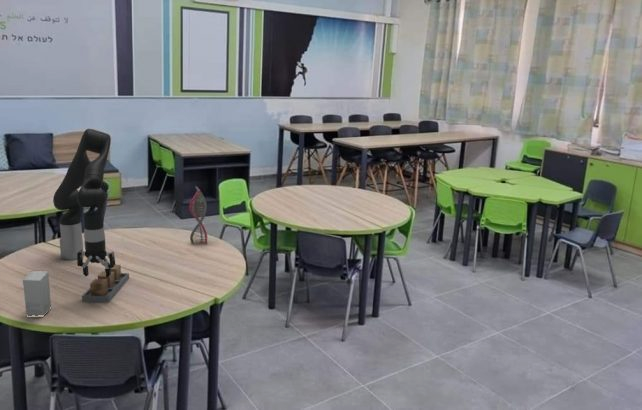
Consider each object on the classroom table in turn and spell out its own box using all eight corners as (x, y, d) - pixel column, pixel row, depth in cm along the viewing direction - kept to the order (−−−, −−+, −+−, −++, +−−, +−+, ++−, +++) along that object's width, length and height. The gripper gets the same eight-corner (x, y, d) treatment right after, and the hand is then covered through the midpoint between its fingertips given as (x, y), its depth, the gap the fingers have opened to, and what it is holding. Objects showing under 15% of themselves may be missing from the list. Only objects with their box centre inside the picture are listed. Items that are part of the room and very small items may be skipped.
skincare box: (35, 308, 213) (31, 270, 208) (53, 308, 213) (49, 270, 209) (25, 318, 204) (21, 279, 200) (44, 318, 205) (40, 279, 201)
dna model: (203, 246, 284) (202, 190, 276) (187, 245, 286) (185, 189, 278) (210, 241, 293) (209, 186, 285) (194, 239, 294) (193, 185, 286)
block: (91, 297, 221) (89, 283, 219) (96, 292, 226) (94, 278, 224) (103, 298, 221) (102, 284, 219) (108, 292, 226) (107, 279, 224)
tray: (82, 301, 219) (81, 285, 217) (105, 277, 243) (104, 262, 241) (109, 302, 219) (107, 286, 218) (129, 278, 243) (128, 263, 241)
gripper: (116, 235, 220) (118, 273, 225) (80, 234, 220) (83, 271, 224) (109, 242, 213) (111, 280, 217) (72, 240, 213) (75, 279, 217)
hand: (97, 276), depth 221 cm, fingers open, 8 cm apart
